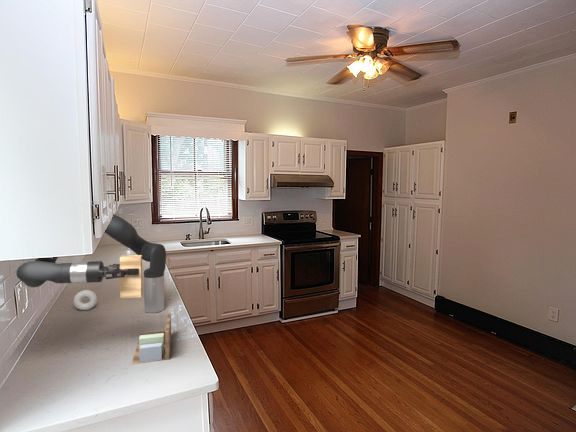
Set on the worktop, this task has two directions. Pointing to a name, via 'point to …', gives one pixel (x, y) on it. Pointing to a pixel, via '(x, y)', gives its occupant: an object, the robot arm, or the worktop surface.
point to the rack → (166, 342)
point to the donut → (85, 293)
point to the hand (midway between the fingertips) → (139, 269)
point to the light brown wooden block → (131, 277)
